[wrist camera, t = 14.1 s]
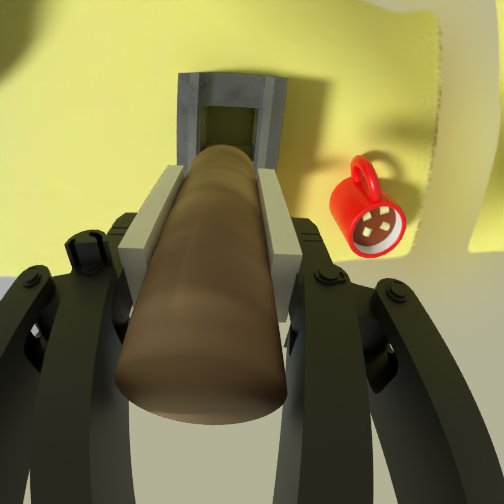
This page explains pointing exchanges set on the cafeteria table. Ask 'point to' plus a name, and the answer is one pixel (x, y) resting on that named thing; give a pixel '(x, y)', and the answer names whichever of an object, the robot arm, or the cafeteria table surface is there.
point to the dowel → (207, 305)
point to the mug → (366, 212)
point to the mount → (234, 95)
